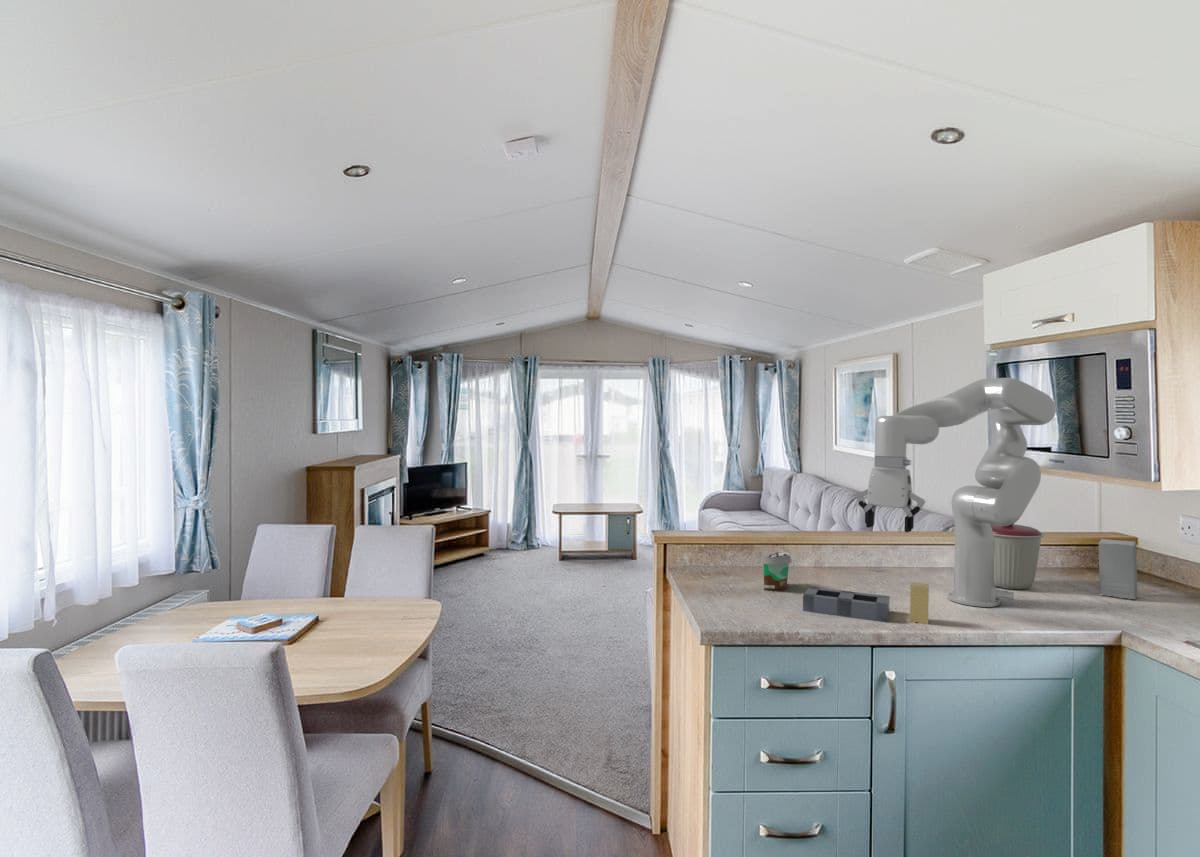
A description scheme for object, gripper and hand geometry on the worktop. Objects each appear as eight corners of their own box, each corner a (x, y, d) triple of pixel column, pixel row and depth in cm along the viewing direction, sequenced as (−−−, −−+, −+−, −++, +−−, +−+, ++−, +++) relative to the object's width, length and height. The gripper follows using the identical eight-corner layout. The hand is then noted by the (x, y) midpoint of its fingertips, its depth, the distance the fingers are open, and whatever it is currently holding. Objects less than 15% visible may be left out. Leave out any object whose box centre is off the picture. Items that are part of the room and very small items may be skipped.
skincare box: (1137, 596, 188) (1138, 541, 188) (1135, 601, 183) (1136, 544, 182) (1100, 591, 194) (1101, 537, 193) (1097, 595, 188) (1098, 540, 188)
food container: (783, 594, 186) (784, 559, 186) (762, 591, 190) (763, 556, 190) (795, 585, 197) (796, 551, 197) (775, 582, 200) (776, 549, 200)
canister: (1057, 593, 190) (1058, 520, 190) (993, 593, 191) (995, 520, 190) (1018, 578, 208) (1020, 511, 208) (960, 577, 209) (962, 511, 208)
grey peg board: (889, 611, 171) (889, 596, 171) (887, 622, 162) (887, 605, 162) (809, 601, 180) (809, 586, 180) (802, 610, 171) (803, 595, 171)
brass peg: (928, 620, 164) (928, 584, 164) (928, 624, 161) (928, 587, 160) (910, 617, 166) (911, 582, 166) (909, 622, 162) (910, 585, 162)
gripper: (930, 464, 168) (928, 531, 169) (862, 461, 180) (861, 523, 180) (920, 466, 163) (918, 535, 163) (851, 462, 175) (849, 526, 175)
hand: (888, 529), depth 172 cm, fingers open, 9 cm apart
